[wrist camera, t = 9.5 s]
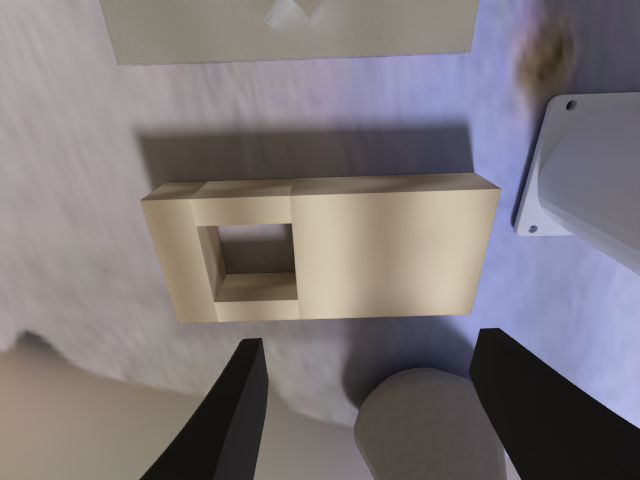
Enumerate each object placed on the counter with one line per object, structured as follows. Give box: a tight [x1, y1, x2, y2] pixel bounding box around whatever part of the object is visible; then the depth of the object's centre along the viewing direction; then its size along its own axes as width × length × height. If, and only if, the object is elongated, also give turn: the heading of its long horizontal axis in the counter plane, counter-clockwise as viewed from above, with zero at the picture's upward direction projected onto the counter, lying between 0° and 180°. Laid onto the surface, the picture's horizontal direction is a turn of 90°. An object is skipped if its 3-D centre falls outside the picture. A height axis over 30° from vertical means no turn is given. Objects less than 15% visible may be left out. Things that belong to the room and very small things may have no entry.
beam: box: [140, 172, 501, 323], centre depth 19 cm, size 18×8×3 cm, turn 92°
